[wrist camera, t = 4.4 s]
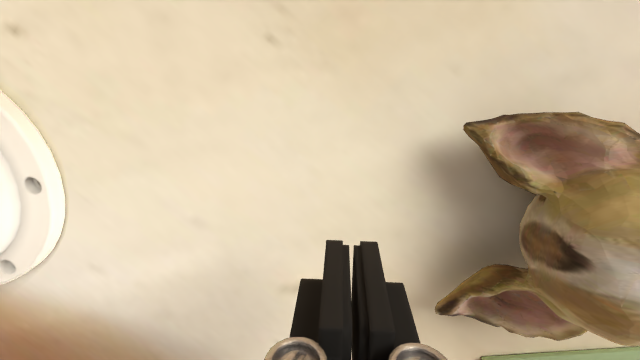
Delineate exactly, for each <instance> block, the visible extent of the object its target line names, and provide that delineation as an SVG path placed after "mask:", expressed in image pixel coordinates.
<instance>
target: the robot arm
mask: <svg viewBox="0 0 640 360" xmlns="http://www.w3.org/2000/svg"><path fill="white" fill-rule="evenodd" d="M64 219H65V194H64V189H63V184H62V179H61V175H60V172H59V170H58V167H57V165H56V162H55V160H54V157H53V155H52V152H51V150H50V149H49V147H48V145H47V144H46V142H45V140H44V139H43V137H42V135H41V134H40V132H39V130H38V129H37V128H36V127H35V125H34V124H33V123H32V122H31V121H30V119H29V118H28V117H27V116H26V114H25V113H24V112H23V111H22V110H21V108H20V107H18V106H17V105H16V104H15V103H14V102H13V101H12V100H11V99H10V98H9V97H8V96H6V95H5V94H4V93H3V92H2V91H1V90H0V284H4V283H8V282H10V281H12V280H14V279H16V278H18V277H20V276H22V275H24V274H25V273H27V272H28V271H29V270H31V269H32V268H34V267H35V266H37V265H38V264H40V263H41V262H42V261H43V260H44V259H45V258H46V257H47V256H48V255H49V254H50V252H51V251H52V250H53V249H54V247H55V245H56V243H57V241H58V239H59V237H60V235H61V232H62V228H63V223H64ZM351 350H352V360H447V359H446V357H445V356H443V355H442V354H441V353H440V352H439V351H437V350H435V349H433V348H432V347H430V346H427V345H423V344H420V341H419V337H418V334H417V330H416V326H415V323H414V319H413V316H412V312H411V309H410V305H409V302H408V298H407V295H406V291H405V288H404V285H403V283H393V282H385V278H384V273H383V268H382V263H381V258H380V253H379V248H378V243H377V242H365V241H360V246H356V245H354V253H353V276H352V299H351V284H350V259H349V245H343V241H337V240H326V250H325V262H324V273H323V280H321V279H301V281H300V286H299V291H298V296H297V302H296V307H295V312H294V317H293V322H292V328H291V333H290V338H286V339H284V340H282V341H280V342H278V343H276V344H275V345H274V346H273V347H272V348H271V349H270V350H269V352H268V353H267V355H266V357H265V359H264V360H351Z"/></svg>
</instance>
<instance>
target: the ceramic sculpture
mask: <svg viewBox="0 0 640 360" xmlns="http://www.w3.org/2000/svg"><path fill="white" fill-rule="evenodd" d="M463 130H464V131H465V132H466V134H467V135H468V136H469V137H470V138H471V139H472V140H473V141H475V142H476V143H477V144H478V145H479V147H480V148H481V150H482V151H483V153H484V154H485V156H486V157H487V159H488V160H489V162H490V163H491V165H492V166H493V168H494V169H495V171H496V172H497V174H498V175H499V177H501V178H502V179H504V180H505V181H507V182H509V183H510V184H512V185H515V186H517V187H520V188H522V189H525V190H527V191H529V192H531V193H533V194H537V195H536V196H535V198H534V199H533V200H532V202H531V203H530V204H529V205H528V207H527V209H526V212H525V214H524V216H523V218H522V221H521V223H520V233H519V243H520V249H521V252H522V254H523V256H524V259H525V261H526V263H527V265H528V269H524V268H518V267H514V266H509V265H499V264H494V265H490V266H487V267H484V268H482V269H481V270H479V271H478V272H476V273H475V274H474V275H472V276H471V277H469V278H468V279H467V280H465V281H464V282H462V283H461V284H460V285H459V286H458V287H457V288H456V289H455V290H454V291H452V292H451V293H450V294H448V295H447V296H446V297H444V298H443V299H442V300H441V301H440V302H438V303H437V305H436V307H435V312H436V314H439V315H448V316H457V315H464V316H467V317H471V318H474V319H477V320H479V321H481V322H484V323H487V324H490V325H492V326H495V327H499V326H502V327H503V328H505V329H506V330H507V331H509V332H511V333H516V334H519V335H522V336H525V337H538V336H540V337H546V338H550V339H553V340H557V341H560V340H565V339H569V338H572V337H576V336H580V335H582V334H583V333H585V332H587V331H590V332H592V333H594V334H596V335H599V336H601V337H603V338H605V339H607V340H610V341H612V342H614V343H617V344H620V345H626V346H637V345H640V134H639V133H637V132H636V131H635V130H633V129H632V128H630V127H629V126H628V125H626V124H625V123H622V122H613V121H606V120H602V119H597V118H592V117H590V116H588V115H585V114H582V113H579V112H568V113H545V112H543V113H528V114H513V115H502V116H499V117H496V118H493V119H489V120H483V121H476V122H468V123H466V124H465V125H464V129H463Z"/></svg>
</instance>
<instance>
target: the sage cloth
mask: <svg viewBox="0 0 640 360" xmlns="http://www.w3.org/2000/svg"><path fill="white" fill-rule="evenodd" d="M481 360H640V346H639V347H623V348H608V349H593V350H577V351H562V352H547V353H532V354H516V355H501V356H486V357H481Z"/></svg>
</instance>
